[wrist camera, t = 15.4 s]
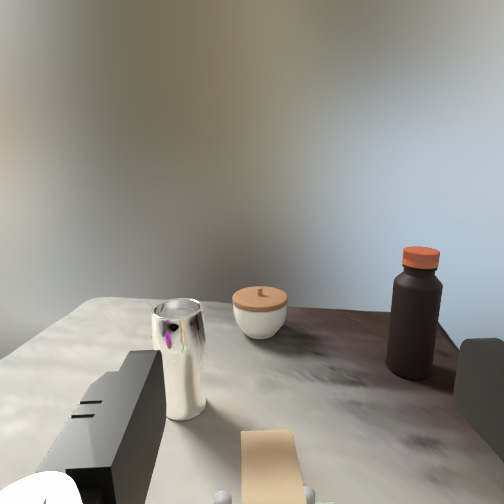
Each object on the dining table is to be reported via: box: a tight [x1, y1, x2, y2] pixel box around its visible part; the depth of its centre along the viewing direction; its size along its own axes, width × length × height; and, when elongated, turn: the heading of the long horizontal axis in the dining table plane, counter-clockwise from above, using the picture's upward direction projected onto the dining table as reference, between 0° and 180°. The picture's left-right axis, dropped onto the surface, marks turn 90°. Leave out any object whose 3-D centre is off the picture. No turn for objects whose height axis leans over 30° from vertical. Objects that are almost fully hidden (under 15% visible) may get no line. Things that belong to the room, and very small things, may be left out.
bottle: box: [386, 247, 443, 380], centre depth 54 cm, size 7×7×20 cm
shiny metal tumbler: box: [151, 298, 206, 421], centre depth 47 cm, size 7×7×15 cm
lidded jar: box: [233, 287, 287, 339], centre depth 69 cm, size 11×11×9 cm
